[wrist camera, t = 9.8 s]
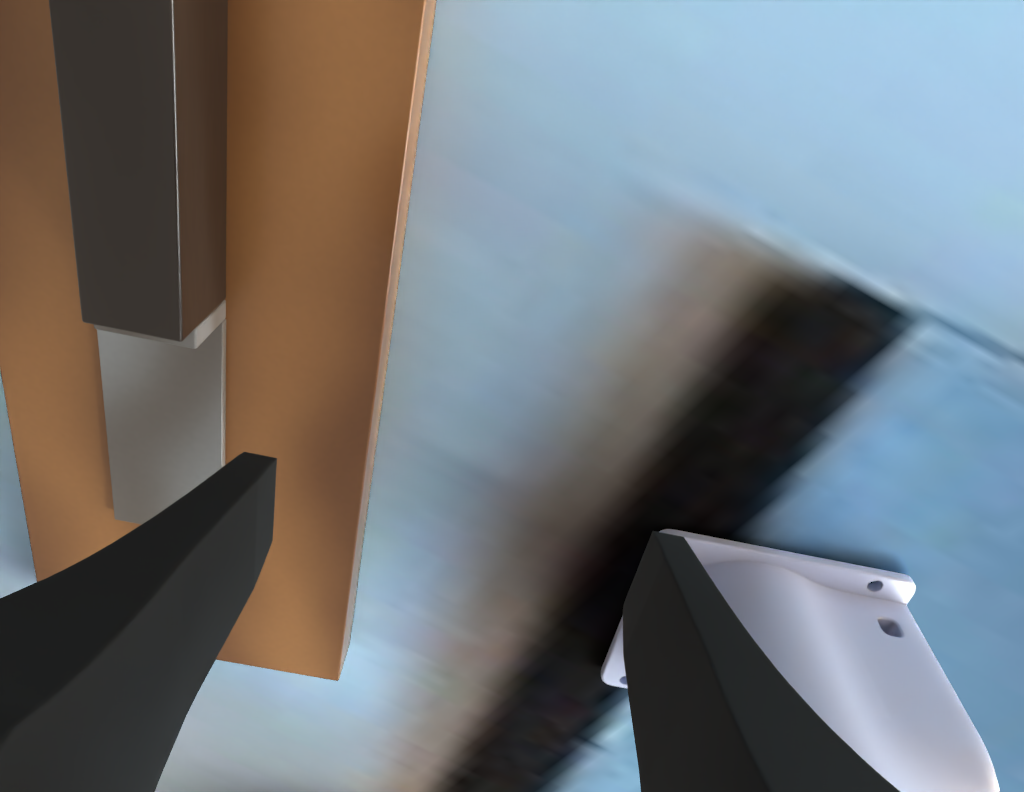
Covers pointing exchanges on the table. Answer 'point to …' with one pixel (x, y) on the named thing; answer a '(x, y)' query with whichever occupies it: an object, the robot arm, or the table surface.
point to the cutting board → (235, 297)
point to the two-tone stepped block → (150, 230)
